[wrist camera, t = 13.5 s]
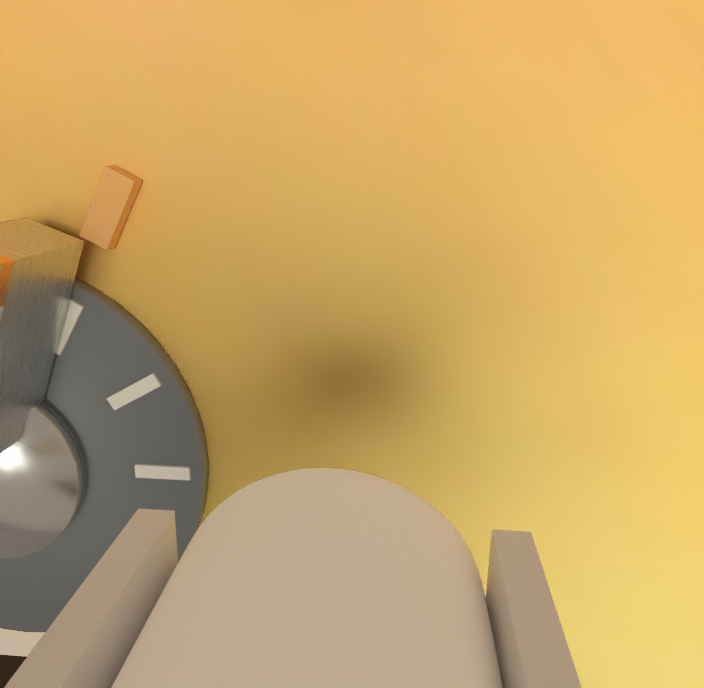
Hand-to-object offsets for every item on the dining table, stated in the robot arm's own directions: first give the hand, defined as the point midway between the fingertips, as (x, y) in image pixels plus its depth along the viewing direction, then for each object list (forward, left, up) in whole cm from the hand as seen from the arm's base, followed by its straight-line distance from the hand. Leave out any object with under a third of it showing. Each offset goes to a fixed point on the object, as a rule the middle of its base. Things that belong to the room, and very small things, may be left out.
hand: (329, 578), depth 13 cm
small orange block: (-10, +6, -14) cm, 19 cm away
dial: (-15, -2, -13) cm, 20 cm away
